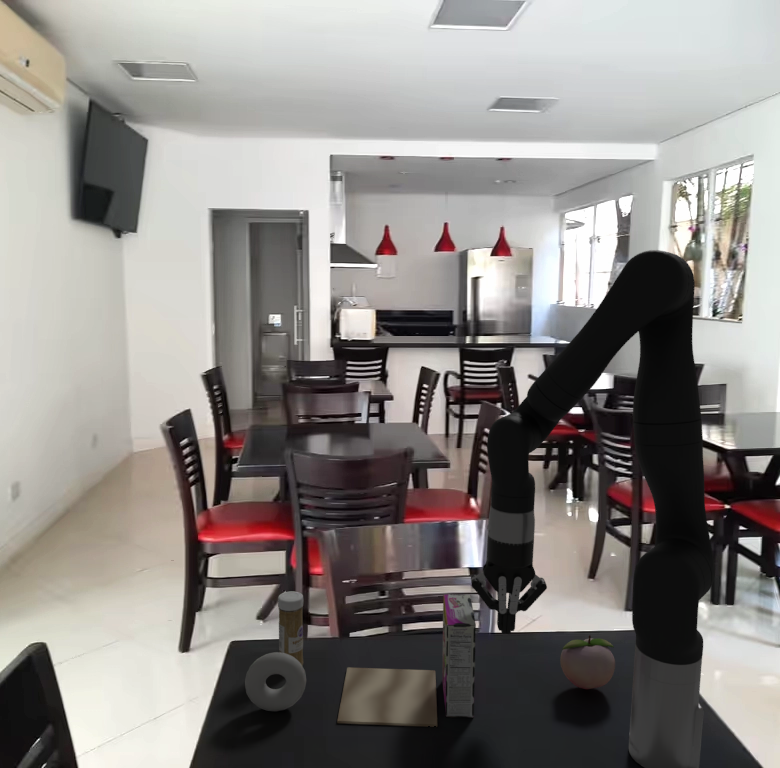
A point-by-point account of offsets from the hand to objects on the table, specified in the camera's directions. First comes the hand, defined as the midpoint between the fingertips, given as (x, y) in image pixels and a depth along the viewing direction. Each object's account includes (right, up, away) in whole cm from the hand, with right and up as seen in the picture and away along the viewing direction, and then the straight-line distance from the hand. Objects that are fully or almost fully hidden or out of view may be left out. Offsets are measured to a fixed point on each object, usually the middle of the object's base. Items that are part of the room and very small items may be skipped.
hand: (505, 631), depth 121 cm
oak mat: (-20, -12, +2) cm, 23 cm away
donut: (-38, -12, -2) cm, 40 cm away
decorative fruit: (+15, -12, +5) cm, 20 cm away
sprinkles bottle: (-38, -10, +12) cm, 41 cm away
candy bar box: (-8, -12, +2) cm, 15 cm away
